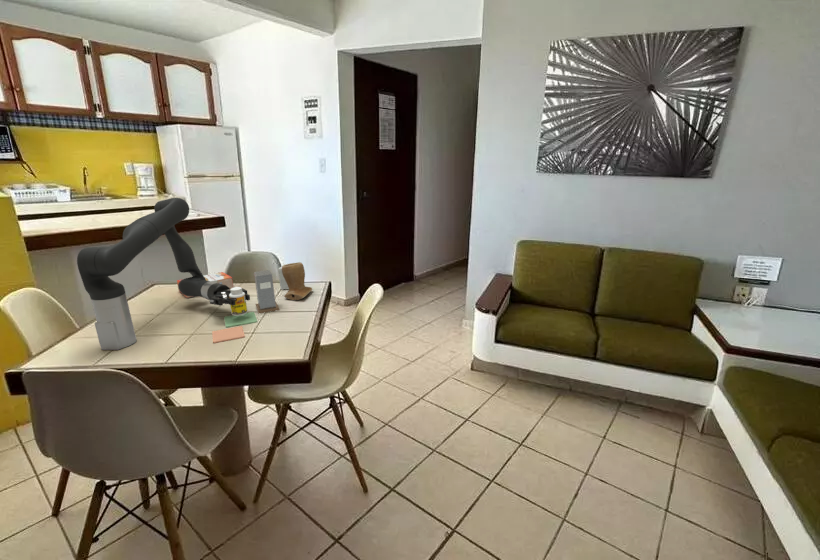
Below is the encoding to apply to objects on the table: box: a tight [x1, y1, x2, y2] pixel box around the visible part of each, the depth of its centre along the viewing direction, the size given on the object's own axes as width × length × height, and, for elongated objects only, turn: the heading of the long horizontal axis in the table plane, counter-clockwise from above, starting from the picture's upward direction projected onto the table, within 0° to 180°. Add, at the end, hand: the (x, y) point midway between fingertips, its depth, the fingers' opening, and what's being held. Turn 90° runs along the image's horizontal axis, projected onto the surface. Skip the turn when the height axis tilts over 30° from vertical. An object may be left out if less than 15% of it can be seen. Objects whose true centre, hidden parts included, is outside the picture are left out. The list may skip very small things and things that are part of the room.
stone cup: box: [281, 261, 313, 301], centre depth 178 cm, size 15×12×15 cm
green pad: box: [223, 311, 258, 329], centre depth 154 cm, size 11×11×1 cm
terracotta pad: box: [211, 325, 246, 344], centre depth 141 cm, size 10×10×1 cm
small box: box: [277, 265, 289, 291], centre depth 191 cm, size 8×6×10 cm
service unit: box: [253, 269, 280, 314], centre depth 163 cm, size 9×8×15 cm
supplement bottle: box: [229, 286, 248, 316], centre depth 152 cm, size 6×6×10 cm
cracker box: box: [176, 271, 235, 299], centre depth 189 cm, size 14×6×21 cm
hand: (241, 300), depth 150 cm, fingers closed on supplement bottle, 5 cm apart
